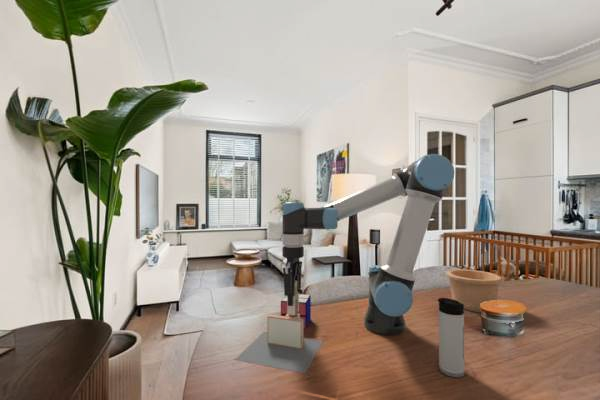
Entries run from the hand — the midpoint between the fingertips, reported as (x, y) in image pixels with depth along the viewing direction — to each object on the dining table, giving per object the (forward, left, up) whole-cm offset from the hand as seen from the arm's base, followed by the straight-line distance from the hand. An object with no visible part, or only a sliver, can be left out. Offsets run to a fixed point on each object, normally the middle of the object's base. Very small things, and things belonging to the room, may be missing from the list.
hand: (293, 312), depth 102 cm
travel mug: (-49, +5, -9) cm, 50 cm away
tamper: (0, 0, -3) cm, 3 cm away
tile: (0, +7, -8) cm, 11 cm away
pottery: (-68, -56, -9) cm, 88 cm away
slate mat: (0, +10, -9) cm, 13 cm away
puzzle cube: (+3, -12, -9) cm, 15 cm away
